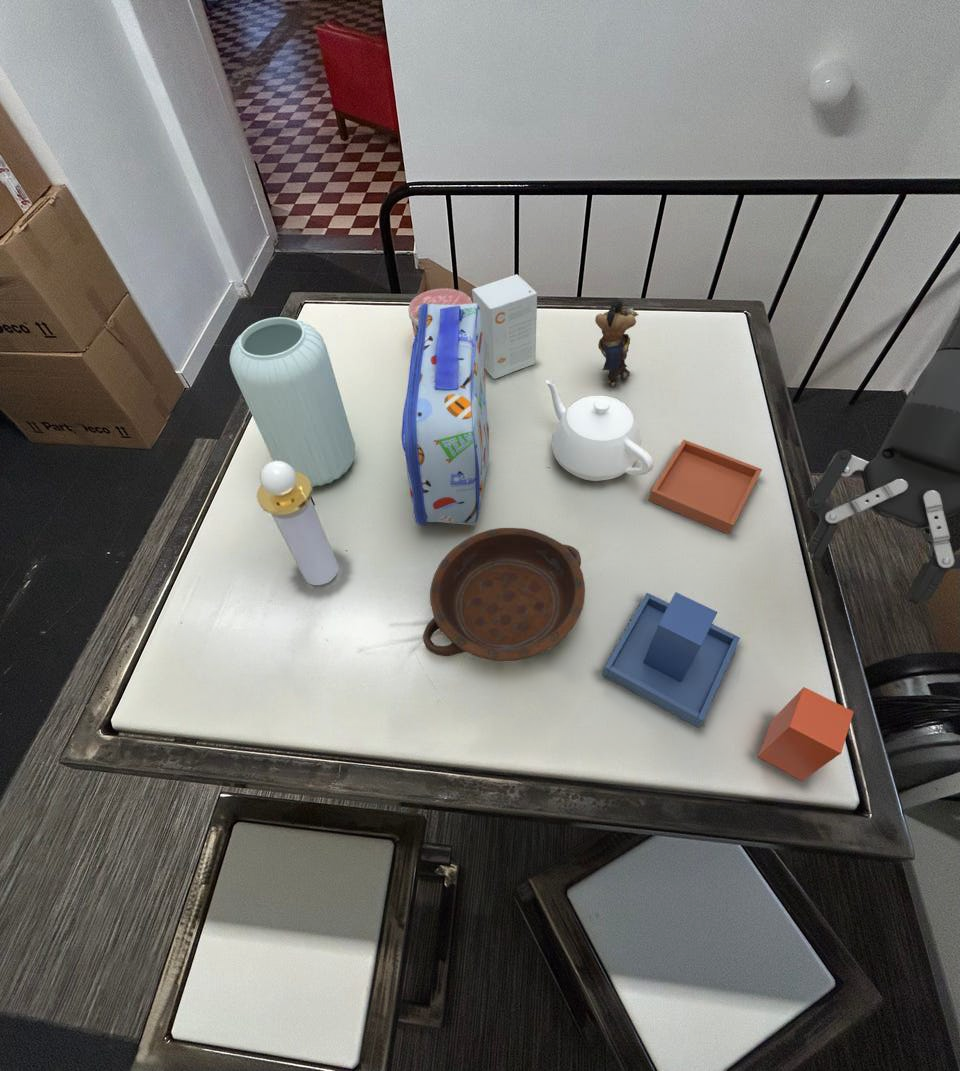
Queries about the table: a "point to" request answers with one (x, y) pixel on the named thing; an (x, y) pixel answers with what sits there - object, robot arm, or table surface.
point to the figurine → (615, 339)
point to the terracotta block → (806, 734)
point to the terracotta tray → (705, 486)
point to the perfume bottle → (297, 520)
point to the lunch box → (446, 415)
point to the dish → (505, 595)
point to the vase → (294, 397)
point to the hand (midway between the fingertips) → (861, 580)
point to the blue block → (679, 636)
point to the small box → (507, 324)
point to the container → (436, 301)
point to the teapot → (597, 438)
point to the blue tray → (658, 687)
